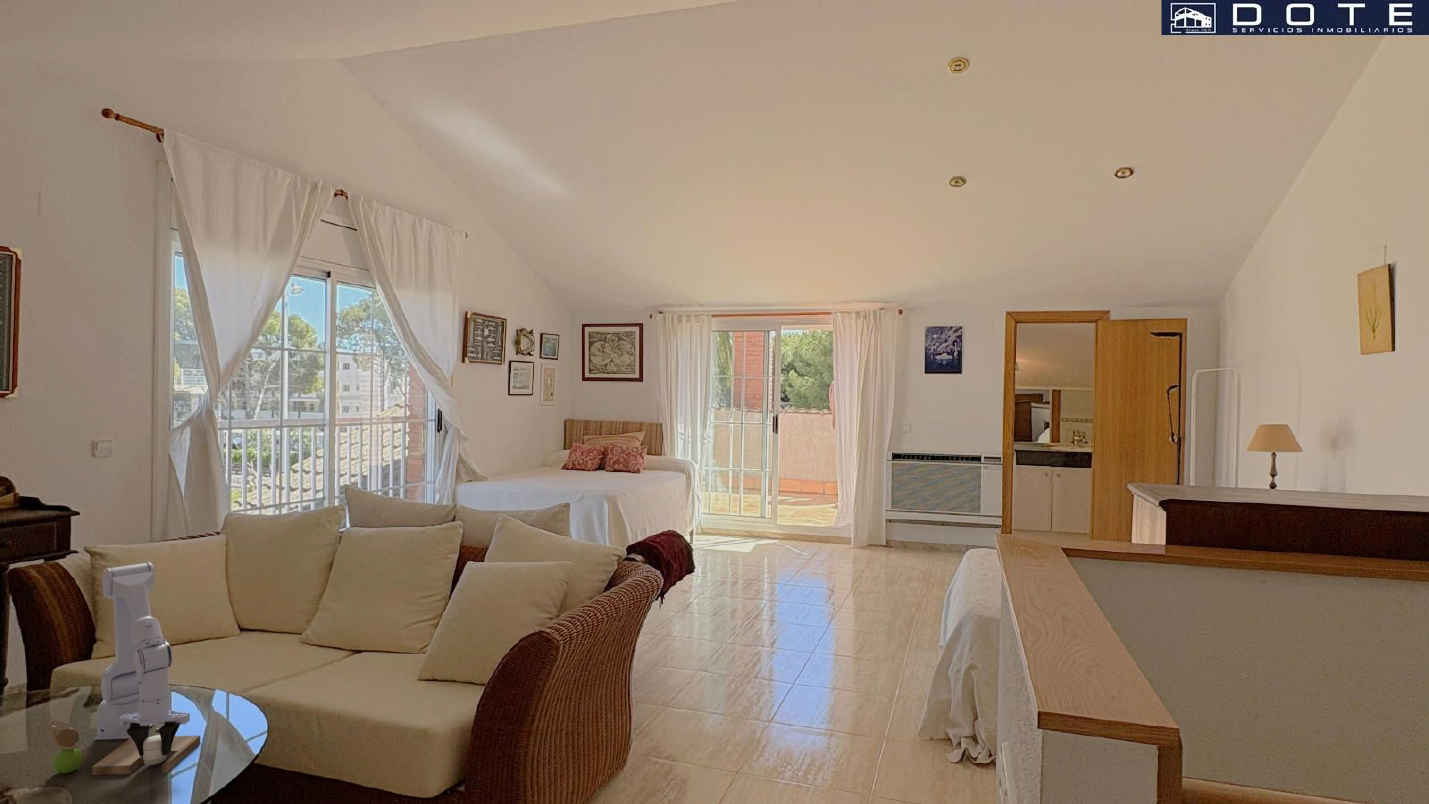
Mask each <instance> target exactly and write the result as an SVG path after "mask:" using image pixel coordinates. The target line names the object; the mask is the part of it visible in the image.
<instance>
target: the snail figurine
mask: <svg viewBox="0 0 1429 804" xmlns="http://www.w3.org/2000/svg"><path fill="white" fill-rule="evenodd" d="M53 723H55V722H54V720H51V721H48V725H50V726H49V728H48V731H49V733H50V736H51V740H52V742H53V744H54V746H55V747H56V748H58V749H59V750H60V751H59V752H57V754H55V756H54V758H53V759H52V768H53V769H54V771H55V772H56V773H59V774H70V773H72V772H74V771H76V770H77V769H78V768H79V767H80V766H81V765H82V763H83V759H84V755H83V752H82V750H80V749H79V748H78V747H79V746H80V744H79V743H78V742H79V739H80V734H79V731H78V730H77V729H76V728H73V727H65V728H62V729H61V730H60V731H59V732H57V731H58V727H57V726H56V725H52V724H53Z"/></svg>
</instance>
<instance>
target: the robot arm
mask: <svg viewBox="0 0 1429 804" xmlns="http://www.w3.org/2000/svg"><path fill="white" fill-rule="evenodd" d="M101 580H102V582H101V583H102V596H103V598H105V599H111V601H112V604H113V627H114V653H115V657H114V658H115V660H114V661H113V662H112V663H111V664H110V665H108V666H107V667H106V668H105V669H104V670H103V671H102V673H101V681H100V691H101V698H102V701H101V702H100V704H99V705H98V708H97V710H96V731H97V732H96V734H97V735H96V737H95V738H94V740H98V741H99V740H126V739H127V740H128V739H130V738H132V739H133V741H134V742H135V744H136V747H137V749H138V752H139V755H140V756H143V755H144V752H143V741H144V740H145V739H147V738H148V737H149V735H150V734H149V733H150V728H151V727H152V726H154V724H155V725H156V724H157V725H158V724H159V725H160V724H161V725H162V724H163V725H162V726H160V727H158V728H159V729H158V731H159V733H158V734H159V735H160V736H161V741H162V755H167V754H168V753H169V752H170V751H171V747H172V743H173V740H174V737H175V736H176V734H177V732H178V730H179V728H180V726H181V725H185V724H187V723H189V722H190V721H191V720H190V718H191V716H190V715H191V714H190V712H183V711H176V710H170V687H169V685H170V684H169V683H170V681H169V676H170V675H169V674H170V673H169V668H171V667H172V664H173V652H172V651H173V650H172V648H171V645H170V643H169V642H168V640H167V638H164V635H163V632H162V627H161V623H160V620H158V618H156V617H153V616H152V610H151V604H150V597H149V592H151V591H152V589H153V586H154V584H155V582H156V570H155V566H154V564H153V563H151V561H146V562H143V563H135V564H129V565H123V566H122V565H121V566H116V567H106V568H105V569H104V570H103V571H102V575H101Z"/></svg>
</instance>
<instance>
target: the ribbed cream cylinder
mask: <svg viewBox="0 0 1429 804" xmlns="http://www.w3.org/2000/svg"><path fill="white" fill-rule="evenodd" d="M148 737H149V738H147V739H145V740H144V741H143V752H144V755H143V760H144V763H143V764H144V765H147V766H153V765H158V764H160V763H162V762H163V763H164V761H167V759H166V758H167V755H162V741H161V736H160V734H157V735H152V736H148Z"/></svg>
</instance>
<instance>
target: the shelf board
mask: <svg viewBox="0 0 1429 804" xmlns="http://www.w3.org/2000/svg"><path fill="white" fill-rule="evenodd" d="M149 737H150V736H148V738H149ZM200 744H201V735H175V737H174V740H173V743H172V747H171V751H170V752H169V753H168V754H167V758H166V760H165V762H163V763H162V764H161V767H162V768H161V771H162V774H167V773H168V772H170V771H171V770H172V769H173V768H174V767H175V766H176V765H178V764H179V763H180V762H181V761H182V760H183V759H185V758H186V757H187V756H188V755H189V754H190V753H191V752H192V751H193V750H195V749H196V748H197V747H199V745H200ZM143 764H144V760H143V756H140V755H139V752H138V749H137V747H136V744H135V742H134V741H133V739H132V738H130V739H127V740H126V741H125V742H123V743H121V744H120V745H119V746H117V748H115V749H114V750H112V751H111V752H110V753H109V754H106V756H105V757H103V758H102V759H100V760H99V761H97V762H96V763H95V764H93V766H92V776H101V775H103V776H104V775H106V776H107V775H130V774H132V773H133V772H134V771H135V770H137V769H138V768H139V767H140V766H141V765H143Z"/></svg>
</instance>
